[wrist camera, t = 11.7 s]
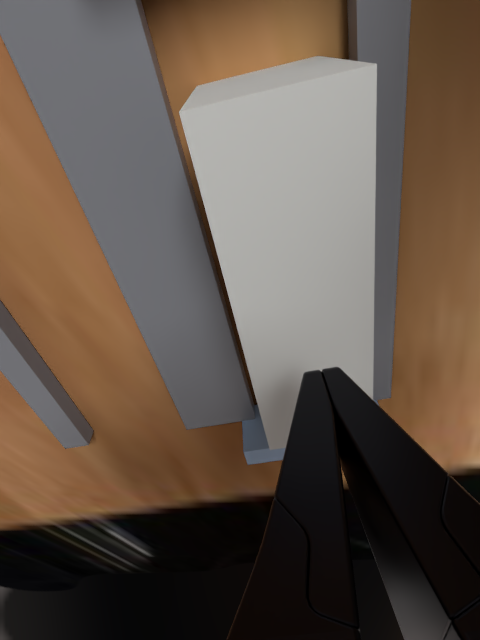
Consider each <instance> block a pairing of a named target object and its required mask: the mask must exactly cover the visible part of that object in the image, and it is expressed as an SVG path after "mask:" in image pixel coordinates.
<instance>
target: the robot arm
mask: <svg viewBox="0 0 480 640" xmlns="http://www.w3.org/2000/svg"><path fill="white" fill-rule="evenodd" d="M341 467H342V470H343V473H344V475H345V478H346V481H347V484H348V486H349V489H350V492H351V494H352V497H353V500H354V503H355V505H356V508H357V511H358V514H359V516H360V519H361V522H362V525H363V527H364V530H365V533H366V536H367V538H368V541H369V544H370V547H371V549H372V552H373V555H374V557H375V560H376V562H377V565H378V568H379V571H380V574H381V576H382V579H383V582H384V585H385V588H386V590H387V593H388V596H389V598H390V601H391V604H392V607H393V610H394V612H395V615H396V618H397V620H398V623H399V626H400V629H401V631H402V634H403V637H404V640H480V503H479V502H478V501H477V500H475V499H474V498H473V497H472V496H471V495H470V494H469V493H468V492H467V491H466V490H465V489H464V488H463V487H462V486H461V485H460V484H459V483H458V482H457V481H456V480H455V479H454V478H453V477H451V476H448V473H447V472H446V471H445V470H444V469H443V468H442V467H441V466H440V465H439V464H438V463H437V462H436V461H435V460H434V459H433V458H432V457H431V456H430V455H429V454H428V453H427V452H426V451H425V450H424V449H423V448H422V447H421V446H420V445H419V444H418V443H417V442H415V441H414V440H413V439H412V438H411V437H410V436H409V435H408V434H407V433H406V432H405V431H404V430H403V429H402V428H401V427H400V426H399V425H398V424H397V423H396V422H395V421H394V420H393V419H392V418H391V417H390V416H389V415H388V414H387V413H386V412H385V411H384V410H383V409H382V408H381V407H380V406H379V405H378V404H377V403H376V402H375V401H373V400H372V399H371V398H370V397H369V396H368V395H367V394H366V393H365V392H364V391H363V390H362V389H361V388H360V387H359V386H358V385H357V384H356V383H355V382H354V381H353V380H352V379H351V378H350V377H349V376H348V375H347V374H346V373H345V372H344V371H343V370H342V369H341V368H339V367H331V368H325V369H323V370H322V371H320V370H313V371H307V372H305V373H304V374H303V377H302V381H301V385H300V390H299V394H298V398H297V402H296V406H295V411H294V415H293V419H292V423H291V427H290V432H289V436H288V440H287V444H286V448H285V453H284V457H283V461H282V465H281V469H280V474H279V478H278V482H277V486H276V491H275V495H274V498H275V499H274V500H273V502H272V506H271V511H270V515H269V519H268V522H267V526H266V530H265V533H264V537H263V541H262V544H261V547H260V550H259V553H258V556H257V559H256V562H255V565H254V568H253V571H252V573H251V576H250V579H249V582H248V584H247V587H246V589H245V592H244V595H243V597H242V600H241V603H240V606H239V608H238V611H237V614H236V616H235V619H234V621H233V625H232V627H231V629H230V632H229V635H228V638H227V640H361V633H360V624H359V616H358V607H357V599H356V590H355V582H354V574H353V565H352V556H351V548H350V539H349V531H348V523H347V514H346V506H345V497H344V489H343V480H342V472H341ZM447 476H448V477H447Z"/></svg>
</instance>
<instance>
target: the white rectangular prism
mask: <svg viewBox="0 0 480 640" xmlns="http://www.w3.org/2000/svg"><path fill="white" fill-rule="evenodd" d="M376 105H377V64H375V63H368V62H360V61H353V60H345V59H338V58H330V57H323V56H315V57H311V58H307V59H303V60H299V61H295V62H291V63H287V64H283V65H279V66H275V67H271V68H267V69H263V70H259V71H255V72H251V73H247V74H243V75H239V76H235V77H231V78H227V79H223V80H219V81H215V82H211V83H207V84H203V85H199V86H197V87H196V88H195V90H194V91H193V92H192V94H191V95H190V97H189V98H188V100H187V101H186V103H185V104H184V105H183V107H182V108H181V110H180V111H179V114H180V117H181V121H182V125H183V129H184V132H185V136H186V140H187V144H188V147H189V151H190V155H191V158H192V162H193V166H194V170H195V173H196V177H197V181H198V184H199V188H200V192H201V196H202V199H203V203H204V207H205V211H206V214H207V218H208V222H209V225H210V229H211V233H212V237H213V240H214V244H215V248H216V251H217V255H218V259H219V263H220V266H221V270H222V274H223V278H224V281H225V285H226V289H227V292H228V296H229V300H230V304H231V307H232V311H233V315H234V318H235V322H236V326H237V330H238V333H239V337H240V341H241V345H242V348H243V352H244V356H245V359H246V363H247V367H248V371H249V374H250V378H251V382H252V386H253V389H254V393H255V397H256V400H257V404H258V408H259V412H260V415H261V419H262V423H263V426H264V430H265V434H266V438H267V441H268V445H269V449H270V450H274V449H281V448H286V444H287V440H288V436H289V432H290V427H291V423H292V419H293V415H294V411H295V406H296V402H297V398H298V394H299V390H300V385H301V381H302V377H303V374H304V373H305V372H307V371H313V370H320V371H322V370H323V369H325V368H331V367H339V368H341V369H342V370H343V371H344V372H345V373H346V374H347V375H348V376H349V377H350V378H351V379H352V380H353V381H354V382H355V383H356V384H357V385H358V386H359V387H360V388H361V389H362V390H363V391H364V392H365V393H366V394H367V395H368V396H369V397H370V398H371V399H372V400H373V361H374V276H375V190H376Z"/></svg>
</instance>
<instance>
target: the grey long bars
mask: <svg viewBox="0 0 480 640" xmlns="http://www.w3.org/2000/svg"><path fill="white" fill-rule="evenodd" d="M347 7H348V44H349V60H353V61H360V62H368V63H375V64H377V105H376V190H375V276H374V361H373V401H374V400H380V399H386V398H391V384H392V364H393V345H394V325H395V306H396V287H397V267H398V248H399V229H400V209H401V190H402V170H403V151H404V132H405V112H406V93H407V74H408V54H409V35H410V16H411V0H347ZM0 35H1V37H2V39H3V41H4V43H5V45H6V48H7V50H8V52H9V54H10V56H11V58H12V60H13V62H14V65H15V67H16V69H17V71H18V73H19V75H20V77H21V79H22V82H23V84H24V86H25V88H26V90H27V92H28V94H29V96H30V98H31V101H32V103H33V105H34V107H35V109H36V111H37V113H38V115H39V118H40V120H41V122H42V124H43V126H44V128H45V130H46V132H47V134H48V137H49V139H50V141H51V143H52V145H53V147H54V149H55V151H56V154H57V156H58V158H59V160H60V162H61V164H62V166H63V168H64V171H65V173H66V175H67V177H68V179H69V181H70V183H71V185H72V187H73V190H74V192H75V194H76V196H77V198H78V200H79V202H80V204H81V207H82V209H83V211H84V213H85V215H86V217H87V219H88V221H89V223H90V226H91V228H92V230H93V232H94V234H95V236H96V238H97V240H98V243H99V245H100V247H101V249H102V251H103V253H104V255H105V257H106V260H107V262H108V264H109V266H110V268H111V270H112V272H113V274H114V276H115V279H116V281H117V283H118V285H119V287H120V289H121V291H122V293H123V296H124V298H125V300H126V302H127V304H128V306H129V308H130V310H131V313H132V315H133V317H134V319H135V321H136V323H137V325H138V327H139V329H140V332H141V334H142V336H143V338H144V340H145V342H146V344H147V346H148V349H149V351H150V353H151V355H152V357H153V359H154V361H155V363H156V365H157V368H158V370H159V372H160V374H161V376H162V378H163V380H164V382H165V385H166V387H167V389H168V391H169V393H170V395H171V397H172V399H173V402H174V404H175V406H176V408H177V410H178V412H179V414H180V416H181V418H182V421H183V423H184V425H185V427H186V429H187V430H188V429H194V428H201V427H207V426H214V425H220V424H226V423H233V422H239V421H246V420H252V419H255V409H254V403H253V399H252V396H251V392H250V388H249V385H248V381H247V378H246V374H245V371H244V367H243V363H242V360H241V356H240V353H239V349H238V346H237V342H236V338H235V335H234V331H233V328H232V324H231V321H230V317H229V313H228V310H227V306H226V303H225V299H224V296H223V292H222V288H221V285H220V281H219V278H218V274H217V270H216V267H215V263H214V260H213V256H212V253H211V249H210V245H209V242H208V238H207V235H206V231H205V228H204V224H203V220H202V217H201V213H200V210H199V206H198V203H197V199H196V195H195V192H194V188H193V185H192V181H191V178H190V174H189V170H188V167H187V163H186V160H185V156H184V153H183V149H182V145H181V142H180V138H179V135H178V131H177V128H176V124H175V120H174V117H173V113H172V110H171V106H170V102H169V99H168V95H167V92H166V88H165V85H164V81H163V77H162V74H161V70H160V67H159V63H158V60H157V56H156V52H155V49H154V45H153V42H152V38H151V35H150V31H149V27H148V24H147V20H146V17H145V13H144V10H143V6H142V2H141V0H0ZM0 371H1V372H2V373H3V374H4V375H5V377H6V378H7V379H8V380H9V381H10V383H11V384H12V385H13V386H14V388H15V389H16V390H17V391H18V392H19V394H20V395H21V396H22V397H23V398H24V400H25V401H26V402H27V403H28V404H29V406H30V407H31V408H32V409H33V410H34V412H35V413H36V414H37V415H38V417H39V418H40V419H41V420H42V421H43V423H44V424H45V425H46V426H47V427H48V429H49V430H50V431H51V432H52V433H53V435H54V436H55V437H56V438H57V439H58V441H59V442H60V443H61V444H62V446H63V447H64V448H65V449H66V448H73V447H79V446H86V445H89V443H90V440H91V437H92V434H93V429H92V428H91V426H90V425H89V424H88V422H87V421H86V419H85V418H84V417H83V415H82V414H81V412H80V411H79V410H78V408H77V407H76V405H75V404H74V403H73V401H72V400H71V398H70V397H69V396H68V394H67V393H66V391H65V390H64V389H63V387H62V386H61V384H60V383H59V382H58V380H57V379H56V377H55V376H54V375H53V373H52V372H51V370H50V369H49V368H48V366H47V365H46V363H45V362H44V361H43V359H42V358H41V357H40V355H39V354H38V352H37V351H36V350H35V348H34V347H33V345H32V344H31V343H30V341H29V340H28V338H27V337H26V336H25V334H24V333H23V331H22V330H21V329H20V327H19V326H18V324H17V323H16V322H15V320H14V319H13V317H12V316H11V315H10V313H9V312H8V310H7V309H6V308H5V306H4V305H3V303H2V302H1V301H0Z"/></svg>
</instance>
